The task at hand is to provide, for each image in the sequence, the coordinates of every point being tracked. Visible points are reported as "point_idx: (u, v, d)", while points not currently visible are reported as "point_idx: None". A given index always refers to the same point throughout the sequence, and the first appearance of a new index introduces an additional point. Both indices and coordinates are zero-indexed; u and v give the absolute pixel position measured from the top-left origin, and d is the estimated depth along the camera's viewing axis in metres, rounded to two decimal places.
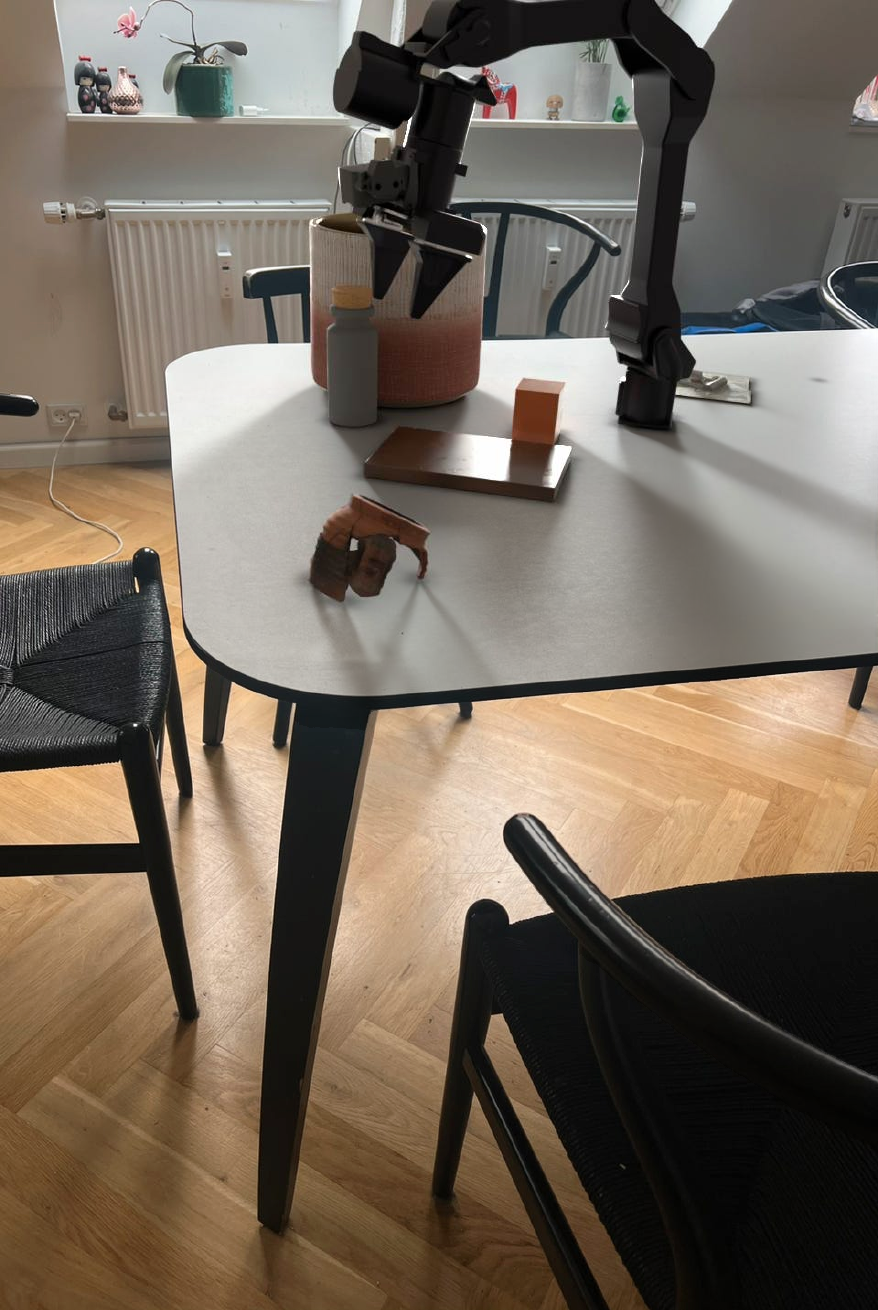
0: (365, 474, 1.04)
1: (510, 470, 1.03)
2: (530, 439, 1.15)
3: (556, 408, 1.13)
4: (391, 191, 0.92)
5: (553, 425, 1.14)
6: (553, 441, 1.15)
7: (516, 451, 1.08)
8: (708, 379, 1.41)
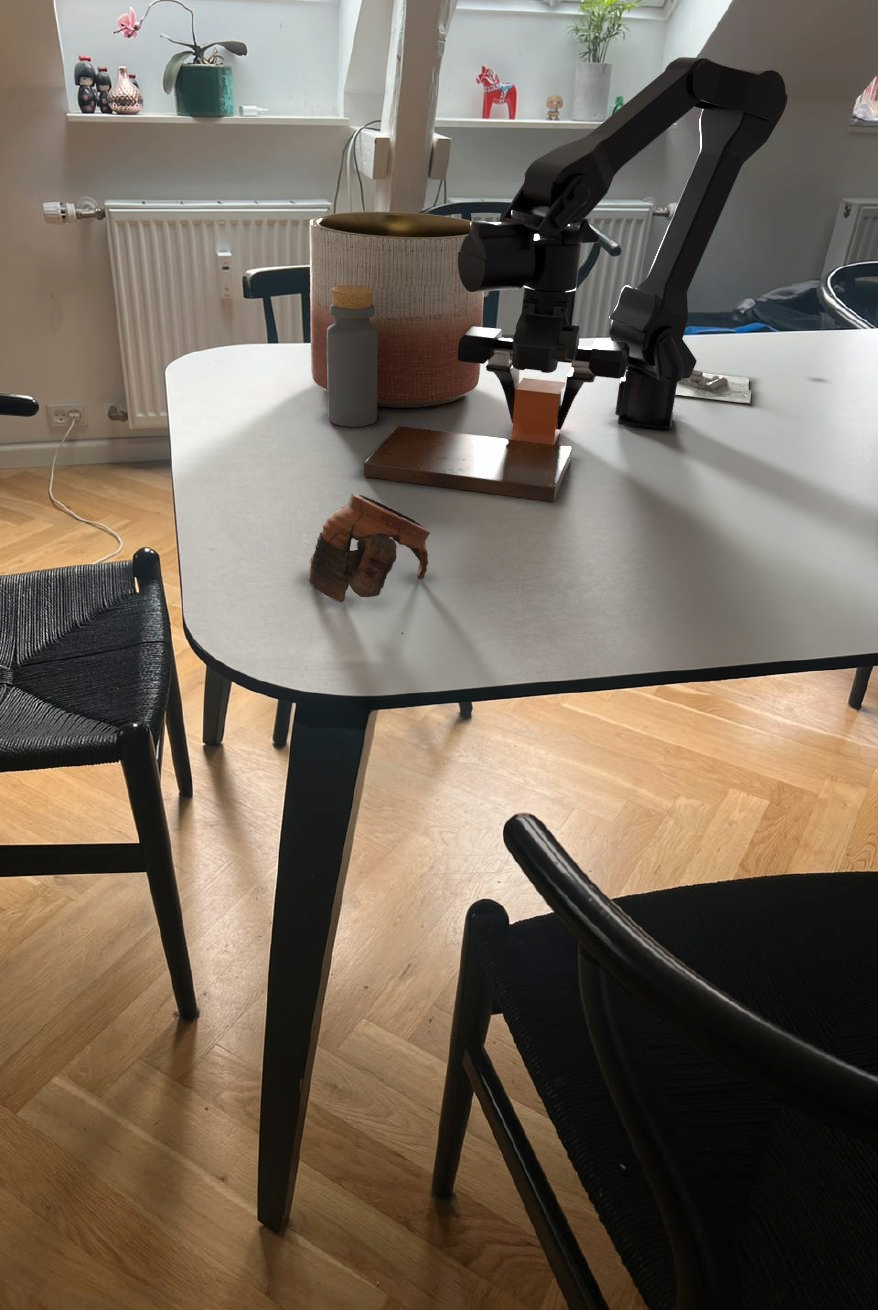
0: (365, 474, 1.04)
1: (510, 470, 1.03)
2: (530, 439, 1.15)
3: (556, 408, 1.13)
4: (577, 349, 1.06)
5: (553, 425, 1.14)
6: (553, 441, 1.15)
7: (516, 451, 1.08)
8: (708, 379, 1.41)
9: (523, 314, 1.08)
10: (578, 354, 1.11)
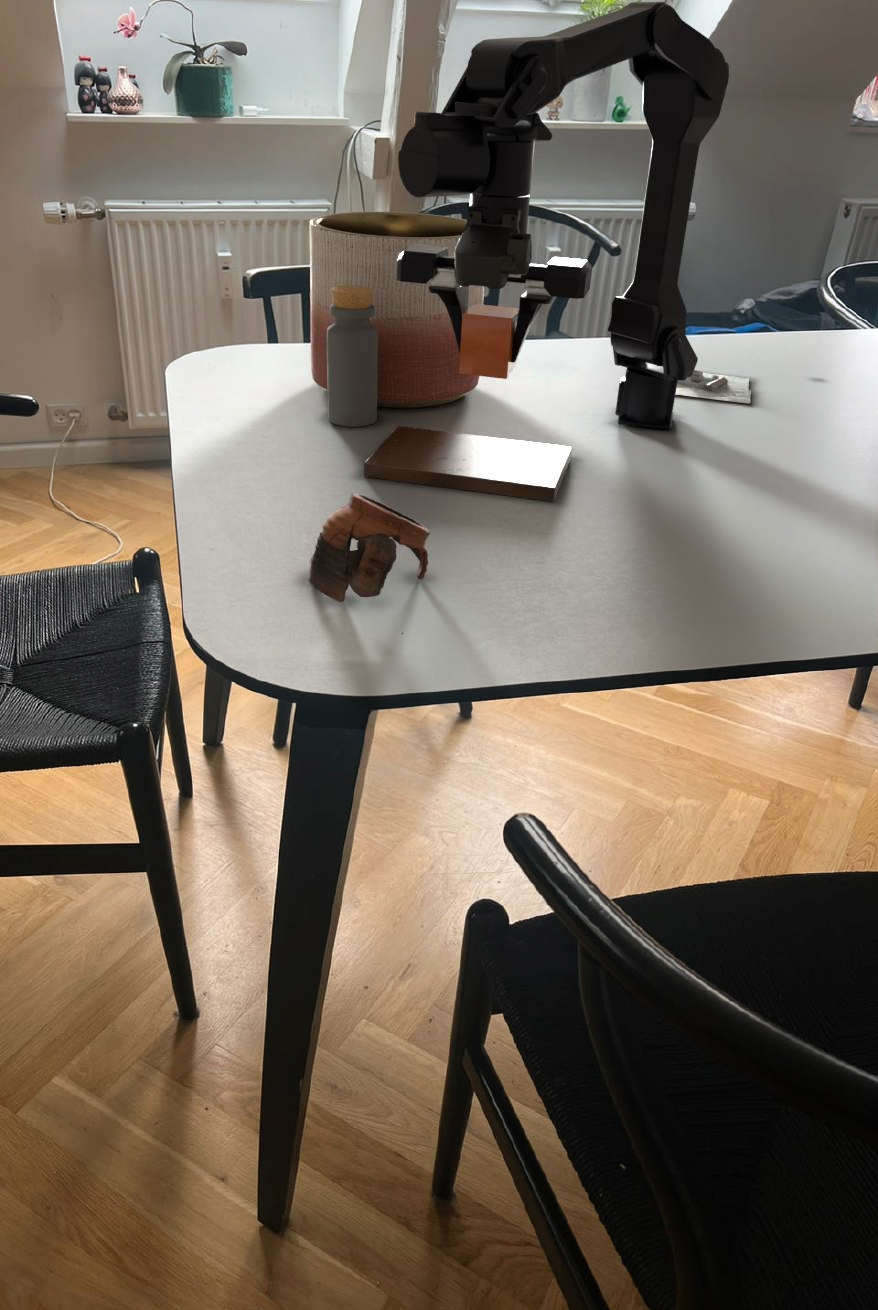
0: (365, 474, 1.04)
1: (510, 470, 1.03)
2: (480, 372, 1.02)
3: (508, 335, 0.99)
4: (529, 262, 0.93)
5: (505, 355, 1.00)
6: (506, 374, 1.01)
7: (516, 451, 1.08)
8: (708, 379, 1.41)
9: (468, 224, 0.94)
10: (533, 273, 0.97)
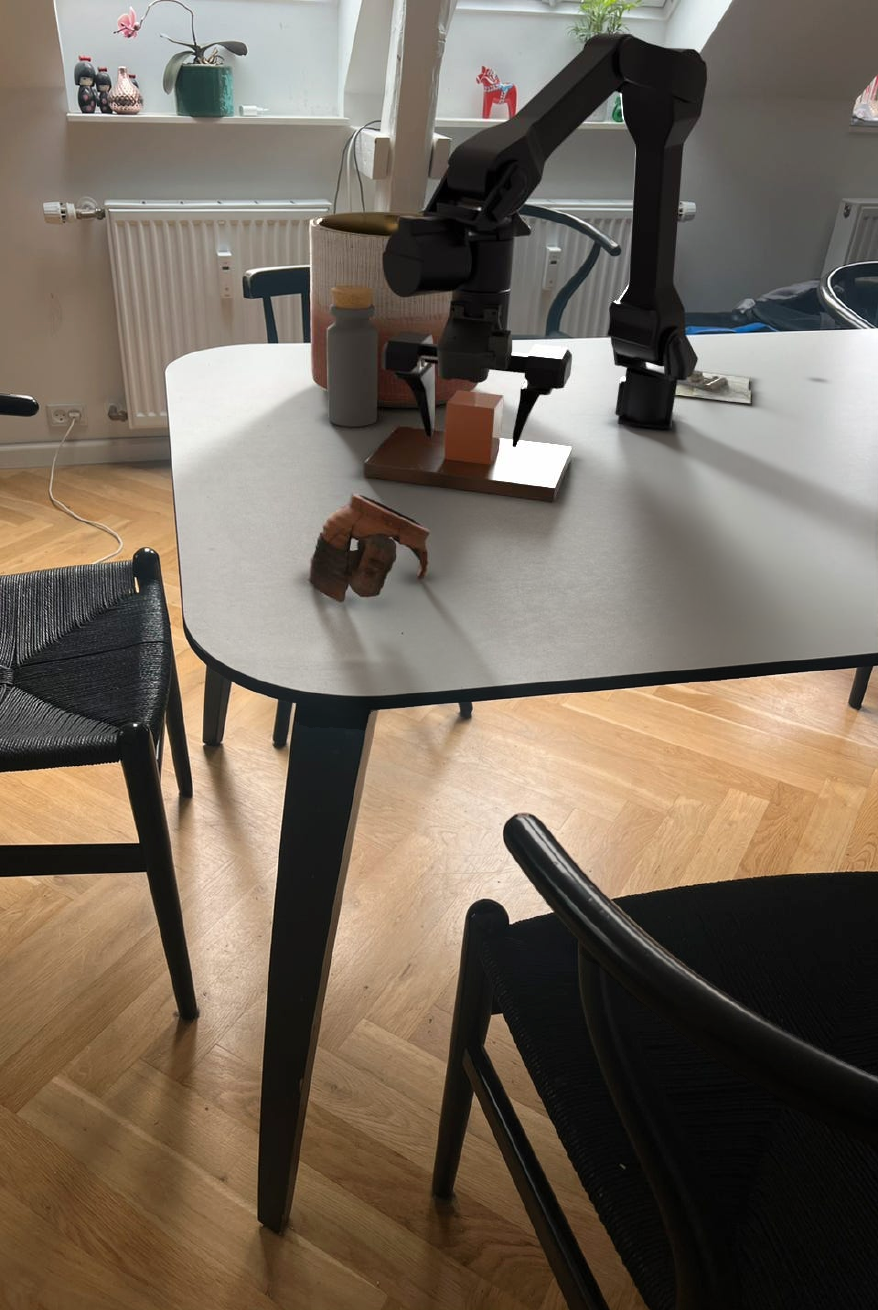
0: (365, 474, 1.04)
1: (510, 470, 1.03)
2: (464, 458, 1.04)
3: (491, 424, 1.02)
4: (510, 356, 0.95)
5: (488, 442, 1.03)
6: (489, 460, 1.04)
7: (516, 451, 1.08)
8: (708, 379, 1.41)
9: (451, 317, 0.97)
10: None
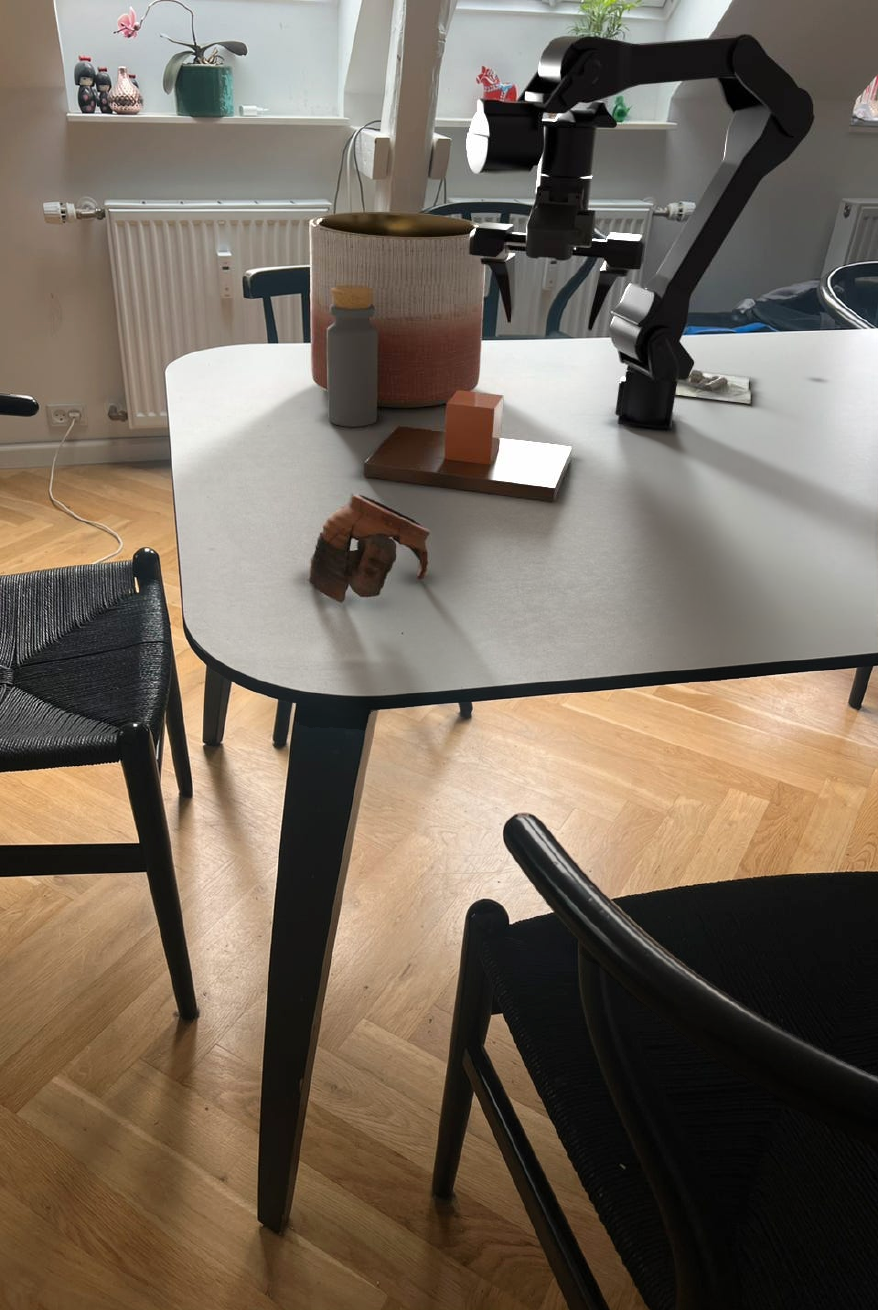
0: (365, 474, 1.04)
1: (510, 470, 1.03)
2: (464, 458, 1.04)
3: (491, 424, 1.02)
4: (592, 236, 1.03)
5: (488, 442, 1.03)
6: (489, 460, 1.04)
7: (516, 451, 1.08)
8: (708, 379, 1.41)
9: (537, 202, 1.05)
10: None
